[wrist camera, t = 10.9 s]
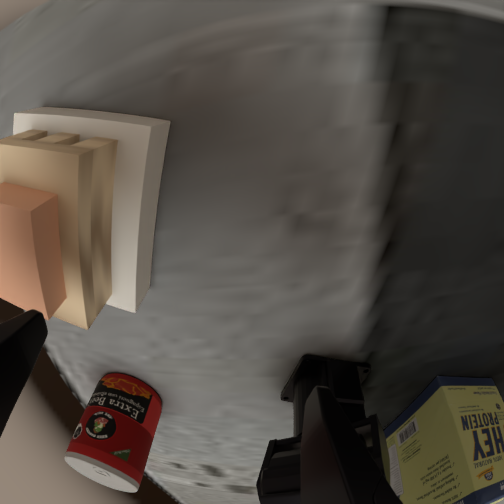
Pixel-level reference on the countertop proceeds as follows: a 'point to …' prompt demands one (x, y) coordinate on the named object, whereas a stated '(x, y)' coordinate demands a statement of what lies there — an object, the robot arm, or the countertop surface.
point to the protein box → (449, 444)
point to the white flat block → (119, 186)
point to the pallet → (71, 208)
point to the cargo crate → (30, 249)
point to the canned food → (116, 432)
